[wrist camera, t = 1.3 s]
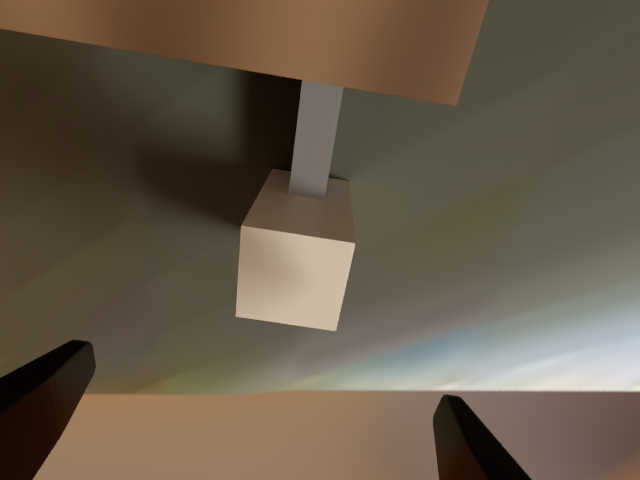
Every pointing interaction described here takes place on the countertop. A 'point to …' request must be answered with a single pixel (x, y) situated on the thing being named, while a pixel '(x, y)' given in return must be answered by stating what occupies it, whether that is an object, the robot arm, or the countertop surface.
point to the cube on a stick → (300, 227)
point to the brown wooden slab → (282, 37)
